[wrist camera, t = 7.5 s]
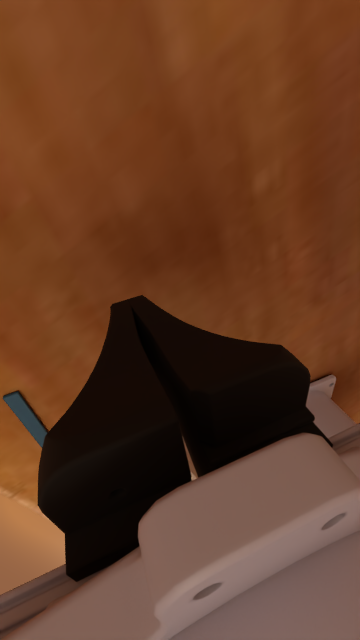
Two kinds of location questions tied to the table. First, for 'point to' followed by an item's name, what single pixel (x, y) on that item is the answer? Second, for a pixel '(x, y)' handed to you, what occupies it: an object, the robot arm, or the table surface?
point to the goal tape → (26, 416)
